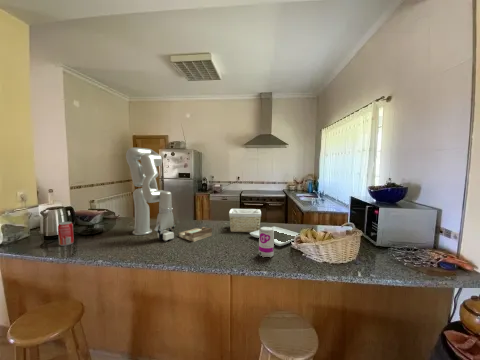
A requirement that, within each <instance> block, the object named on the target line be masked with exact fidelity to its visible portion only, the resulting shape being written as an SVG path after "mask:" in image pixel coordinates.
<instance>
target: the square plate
mask: <svg viewBox="0 0 480 360" xmlns="http://www.w3.org/2000/svg"><path fill="white" fill-rule="evenodd" d="M270 227H271V228H273V230H274V231H277V232H279V233H284V234H287V235H291V236H296V235H298V234H300V233H299V232H296V231H291V230H289V229H287V228H282V227H278V226H270ZM249 234H250V236H252V237H253V238H257V239H258V238H259V230H258V231H254V232H249ZM292 241H294V239H291V240H288V241H286V242H281V241H278V240H277V239H274V244H275V245H274V246H277V247H282V246H284V245H287V244H290V242H291V243H293V242H292ZM294 242H295V241H294Z"/></svg>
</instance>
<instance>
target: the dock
mask: <svg viewBox="0 0 480 360" xmlns="http://www.w3.org/2000/svg"><path fill="white" fill-rule="evenodd" d="M212 231H213V228H212V227H205V226H202V227H201V228H199V227H195V228H191V229H186V230H183V231H180V232H177V237H179V238H181V239H183V240H188V241H189V242H194V243H195V242H197V241H201V240H203V239H207V238H209V237H212V236H213V235H212V234H213V232H212Z"/></svg>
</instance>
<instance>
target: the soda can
mask: <svg viewBox="0 0 480 360" xmlns="http://www.w3.org/2000/svg"><path fill="white" fill-rule="evenodd" d="M57 234H58V235H57V237H58V245H59V246H61V247H66V246H70V245H72V244H73V243H74V242H75V239H74V236H75V235H74V224H73V222H72V221H63V222H59V223H58V226H57Z"/></svg>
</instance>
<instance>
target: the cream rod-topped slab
mask: <svg viewBox="0 0 480 360" xmlns="http://www.w3.org/2000/svg"><path fill="white" fill-rule="evenodd" d="M158 230H159V228H158ZM156 234H157V238H158V240H159V241H161V240H160V239H159V233H158V232H157V231H156ZM162 234H163V240H162V241H163V243H165V242H168V240H170V241H172V240H174V238H175V233H174V231H172V232H170V231H169V230H166V229H163V232H162Z"/></svg>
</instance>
